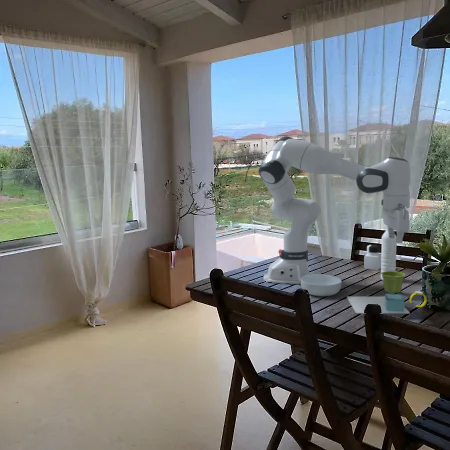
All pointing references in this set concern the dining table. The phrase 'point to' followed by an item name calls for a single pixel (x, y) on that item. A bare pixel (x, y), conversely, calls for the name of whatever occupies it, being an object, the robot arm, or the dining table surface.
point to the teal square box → (394, 302)
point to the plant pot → (392, 281)
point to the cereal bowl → (321, 284)
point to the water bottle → (388, 253)
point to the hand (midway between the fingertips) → (395, 240)
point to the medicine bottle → (372, 258)
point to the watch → (418, 294)
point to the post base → (361, 303)
